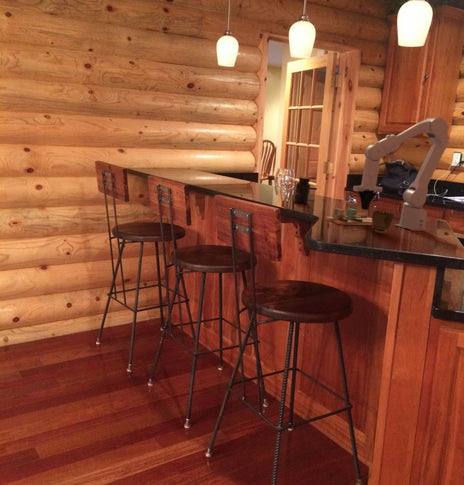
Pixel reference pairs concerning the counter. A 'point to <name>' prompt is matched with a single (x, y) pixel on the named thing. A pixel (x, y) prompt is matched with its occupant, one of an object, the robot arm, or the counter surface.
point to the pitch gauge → (342, 220)
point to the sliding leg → (351, 214)
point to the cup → (381, 221)
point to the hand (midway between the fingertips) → (364, 209)
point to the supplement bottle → (302, 191)
